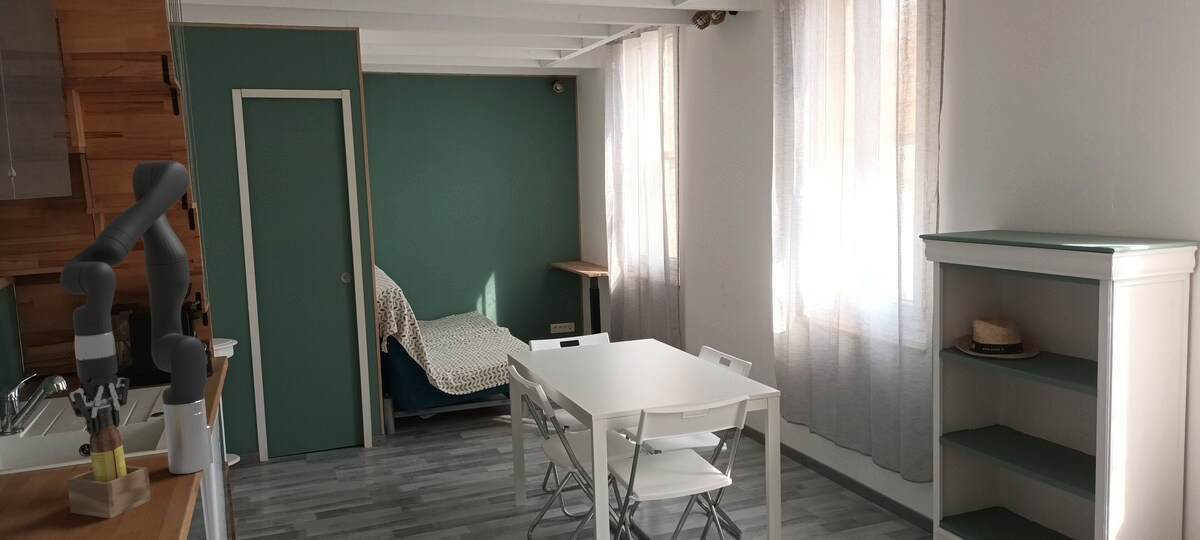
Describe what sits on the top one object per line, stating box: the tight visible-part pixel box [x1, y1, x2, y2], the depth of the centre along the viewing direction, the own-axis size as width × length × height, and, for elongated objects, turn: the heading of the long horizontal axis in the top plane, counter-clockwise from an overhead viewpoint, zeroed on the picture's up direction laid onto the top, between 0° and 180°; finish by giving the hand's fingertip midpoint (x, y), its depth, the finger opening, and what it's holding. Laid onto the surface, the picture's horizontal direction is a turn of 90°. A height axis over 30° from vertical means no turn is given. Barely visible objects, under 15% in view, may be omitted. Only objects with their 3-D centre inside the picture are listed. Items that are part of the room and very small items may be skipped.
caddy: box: [66, 464, 152, 519], centre depth 191 cm, size 10×12×8 cm
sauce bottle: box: [89, 403, 127, 482], centre depth 191 cm, size 7×6×20 cm
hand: (103, 430), depth 190 cm, fingers closed on sauce bottle, 4 cm apart
